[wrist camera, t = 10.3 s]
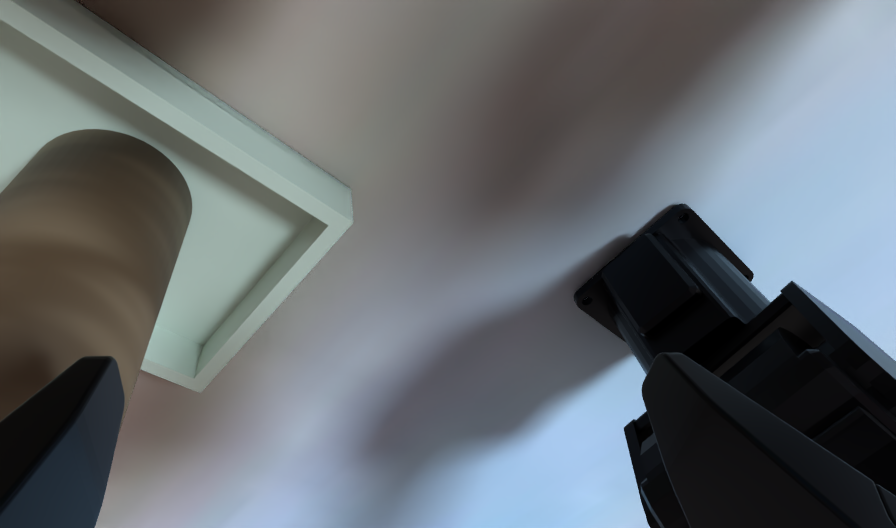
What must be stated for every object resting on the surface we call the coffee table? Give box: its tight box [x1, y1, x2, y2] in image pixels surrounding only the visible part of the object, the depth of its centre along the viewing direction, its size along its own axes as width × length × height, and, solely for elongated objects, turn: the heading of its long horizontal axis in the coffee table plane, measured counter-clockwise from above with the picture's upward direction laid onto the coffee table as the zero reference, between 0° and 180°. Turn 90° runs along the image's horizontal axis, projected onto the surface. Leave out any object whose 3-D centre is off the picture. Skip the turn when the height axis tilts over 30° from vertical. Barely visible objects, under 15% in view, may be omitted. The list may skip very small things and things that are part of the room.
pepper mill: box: [0, 129, 192, 434], centre depth 14 cm, size 5×5×15 cm
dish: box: [0, 0, 353, 393], centre depth 19 cm, size 13×10×2 cm
